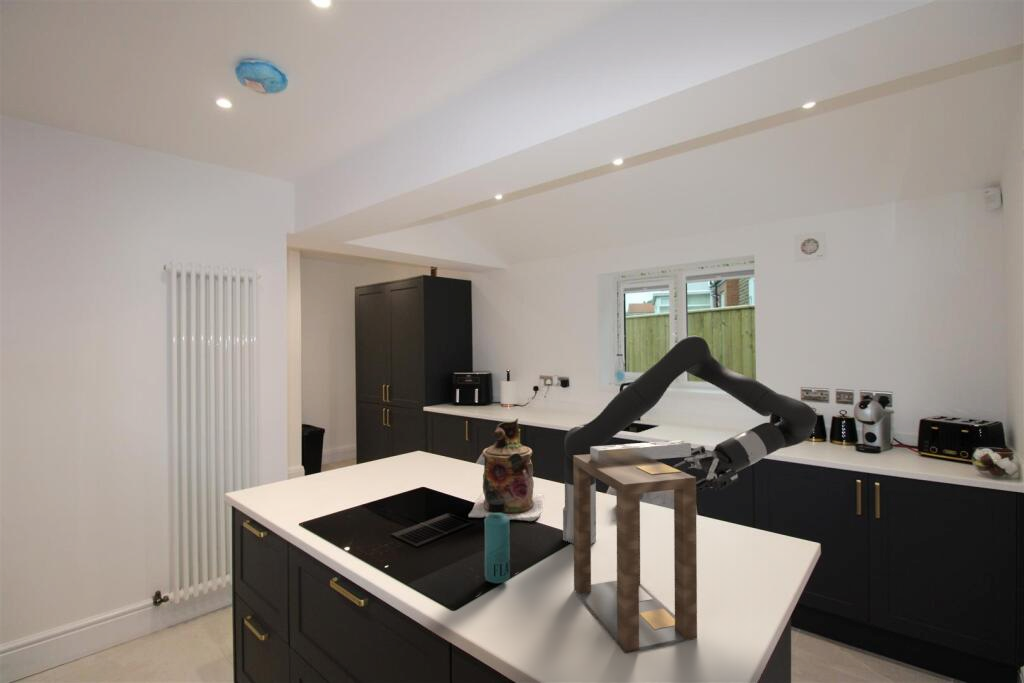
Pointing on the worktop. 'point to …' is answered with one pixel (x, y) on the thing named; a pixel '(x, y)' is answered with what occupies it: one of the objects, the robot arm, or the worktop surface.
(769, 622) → the worktop surface
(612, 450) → the gray rectangular block
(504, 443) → the cookie jar
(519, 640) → the worktop surface
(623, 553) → the switch shelf
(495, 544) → the beverage bottle
